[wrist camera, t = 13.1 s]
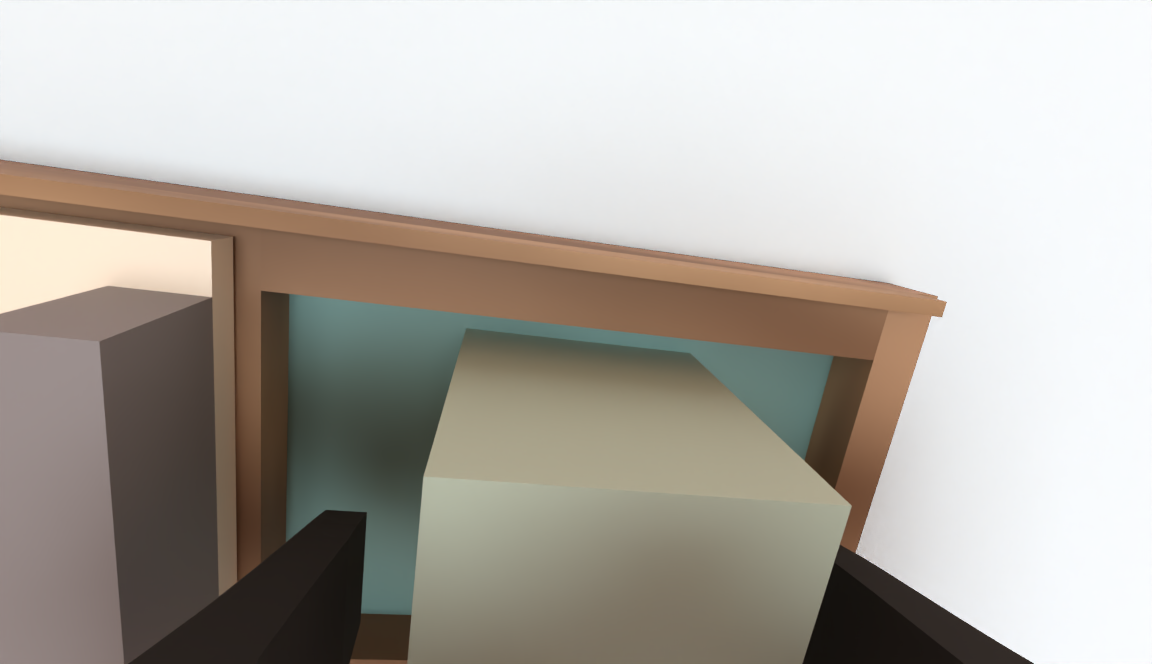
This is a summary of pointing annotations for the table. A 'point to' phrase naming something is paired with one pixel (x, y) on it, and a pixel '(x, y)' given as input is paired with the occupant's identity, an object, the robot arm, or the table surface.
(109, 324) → the lid
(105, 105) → the table surface
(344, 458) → the board
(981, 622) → the table surface
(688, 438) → the sage block
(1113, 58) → the table surface
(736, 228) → the table surface
